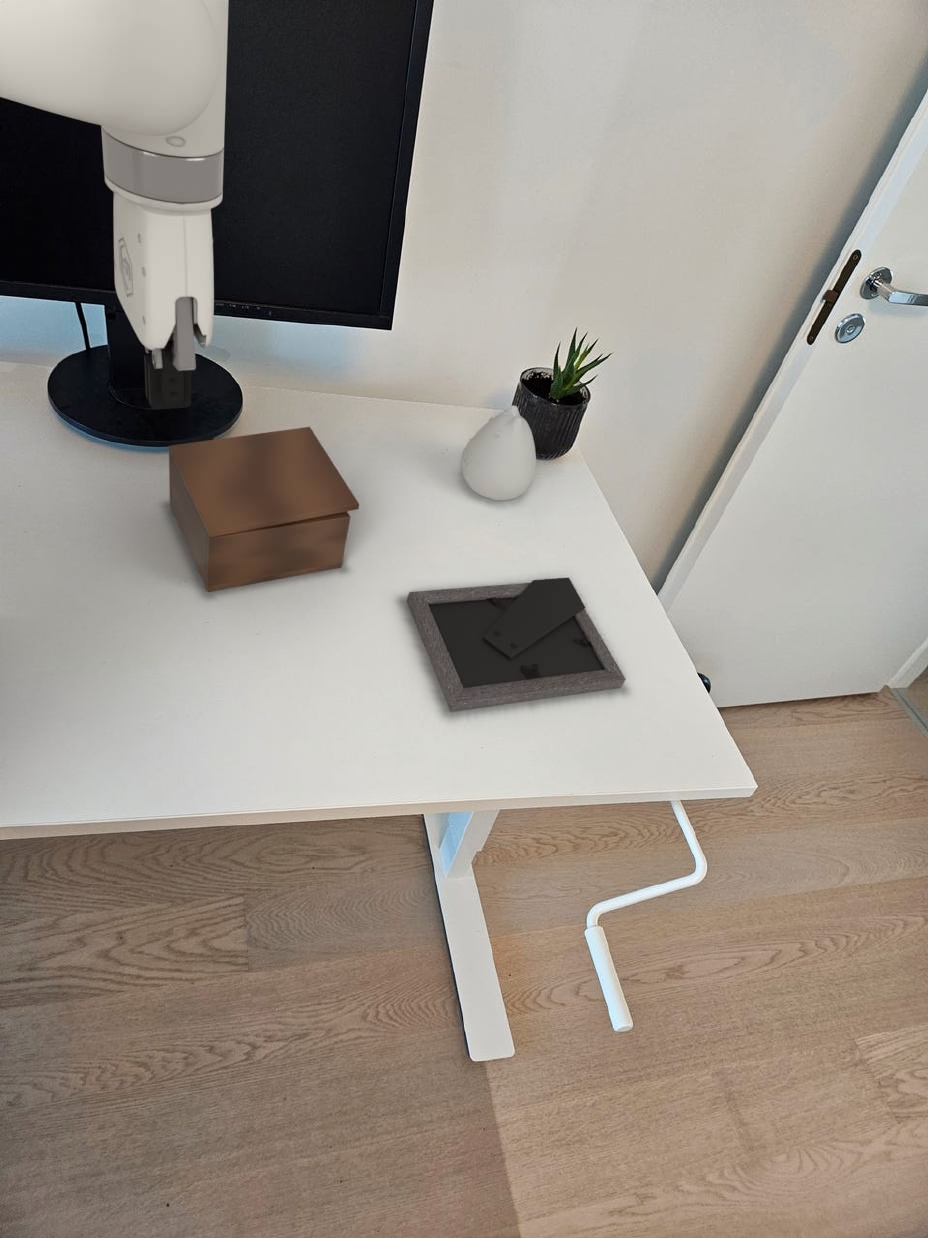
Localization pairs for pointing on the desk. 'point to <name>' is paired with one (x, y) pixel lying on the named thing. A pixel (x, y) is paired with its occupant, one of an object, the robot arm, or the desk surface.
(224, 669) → the desk surface
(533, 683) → the picture frame
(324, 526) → the chest
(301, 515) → the lid
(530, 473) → the white teardrop shape
